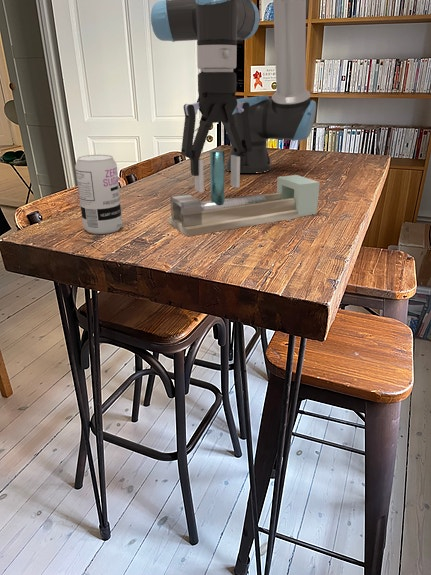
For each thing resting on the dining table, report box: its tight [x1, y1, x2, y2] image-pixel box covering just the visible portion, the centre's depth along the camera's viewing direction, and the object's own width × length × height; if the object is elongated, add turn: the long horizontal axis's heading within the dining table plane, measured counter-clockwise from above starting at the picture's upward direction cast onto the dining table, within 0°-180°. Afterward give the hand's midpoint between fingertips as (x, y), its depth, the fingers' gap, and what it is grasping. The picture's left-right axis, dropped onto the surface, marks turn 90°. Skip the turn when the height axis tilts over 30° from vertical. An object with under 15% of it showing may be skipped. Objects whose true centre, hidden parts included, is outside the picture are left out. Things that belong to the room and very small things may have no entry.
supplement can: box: [74, 154, 124, 235], centre depth 93 cm, size 8×8×15 cm
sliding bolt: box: [179, 149, 266, 220], centre depth 97 cm, size 3×20×14 cm, turn 117°
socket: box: [276, 174, 320, 218], centre depth 107 cm, size 9×6×8 cm, turn 27°
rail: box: [168, 192, 299, 237], centre depth 100 cm, size 10×28×6 cm, turn 117°
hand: (217, 188), depth 96 cm, fingers open, 8 cm apart
